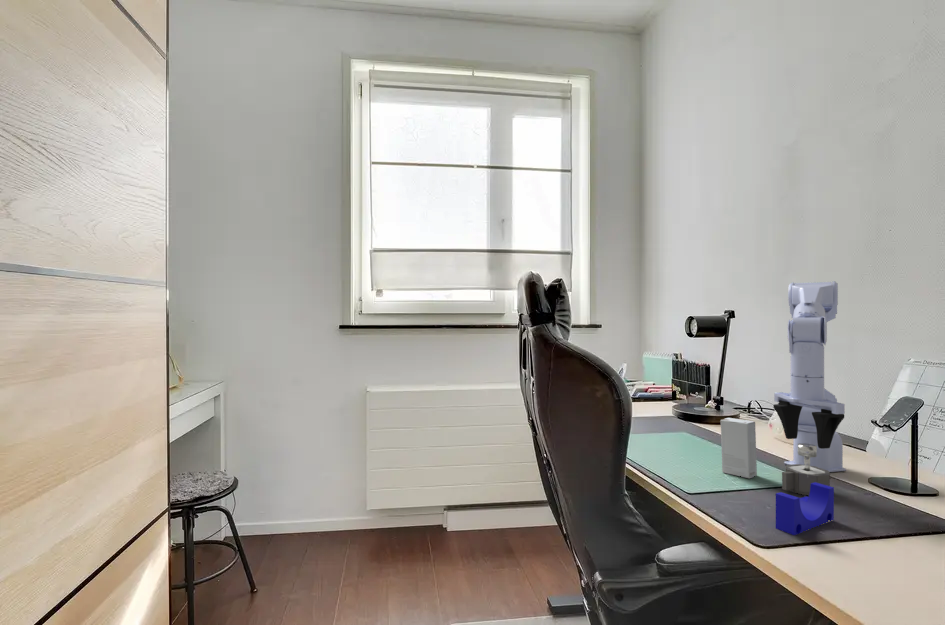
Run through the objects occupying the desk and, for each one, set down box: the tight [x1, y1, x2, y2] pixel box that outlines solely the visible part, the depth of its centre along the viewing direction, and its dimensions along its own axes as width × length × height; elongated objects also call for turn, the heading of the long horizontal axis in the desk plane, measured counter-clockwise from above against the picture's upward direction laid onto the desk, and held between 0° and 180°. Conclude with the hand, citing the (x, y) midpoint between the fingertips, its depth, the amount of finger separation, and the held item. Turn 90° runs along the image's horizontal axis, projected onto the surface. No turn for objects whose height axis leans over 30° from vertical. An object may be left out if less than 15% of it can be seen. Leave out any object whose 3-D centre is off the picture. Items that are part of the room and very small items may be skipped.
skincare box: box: [720, 417, 758, 479], centre depth 112 cm, size 6×4×12 cm
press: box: [781, 464, 831, 497], centre depth 102 cm, size 9×7×4 cm
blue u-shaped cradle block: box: [775, 482, 835, 536], centre depth 86 cm, size 12×4×6 cm, turn 119°
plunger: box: [798, 443, 817, 471], centre depth 102 cm, size 3×3×6 cm
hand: (807, 443), depth 102 cm, fingers open, 7 cm apart
